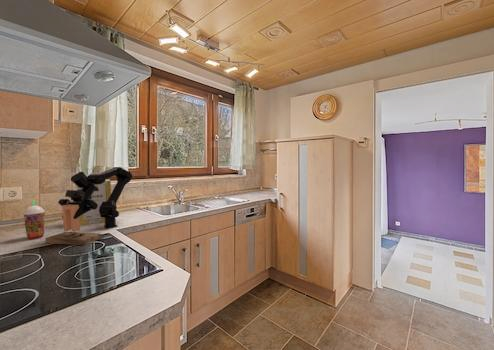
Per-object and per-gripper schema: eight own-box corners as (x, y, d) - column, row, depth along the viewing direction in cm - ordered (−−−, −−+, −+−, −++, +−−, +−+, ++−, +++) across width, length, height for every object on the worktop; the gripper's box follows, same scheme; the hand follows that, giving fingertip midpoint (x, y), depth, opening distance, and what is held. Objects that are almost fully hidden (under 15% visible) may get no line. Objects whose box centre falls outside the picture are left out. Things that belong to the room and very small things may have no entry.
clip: (69, 229, 115) (67, 204, 114) (79, 229, 115) (78, 204, 114) (63, 231, 112) (62, 205, 112) (74, 231, 112) (72, 205, 111)
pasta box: (78, 226, 141) (76, 181, 139) (79, 222, 149) (76, 180, 148) (112, 221, 151) (110, 180, 150) (110, 218, 160) (109, 179, 158)
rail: (64, 236, 121) (64, 231, 121) (101, 238, 118) (101, 233, 118) (45, 243, 112) (45, 238, 111) (85, 245, 109) (85, 240, 108)
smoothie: (22, 241, 114) (20, 202, 113) (27, 236, 121) (25, 200, 120) (44, 238, 119) (42, 200, 118) (47, 234, 126) (45, 198, 125)
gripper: (60, 183, 117) (39, 209, 107) (92, 184, 114) (74, 210, 104) (74, 196, 125) (56, 220, 115) (104, 196, 123) (89, 222, 113)
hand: (68, 218), depth 112 cm, fingers closed on clip, 6 cm apart
